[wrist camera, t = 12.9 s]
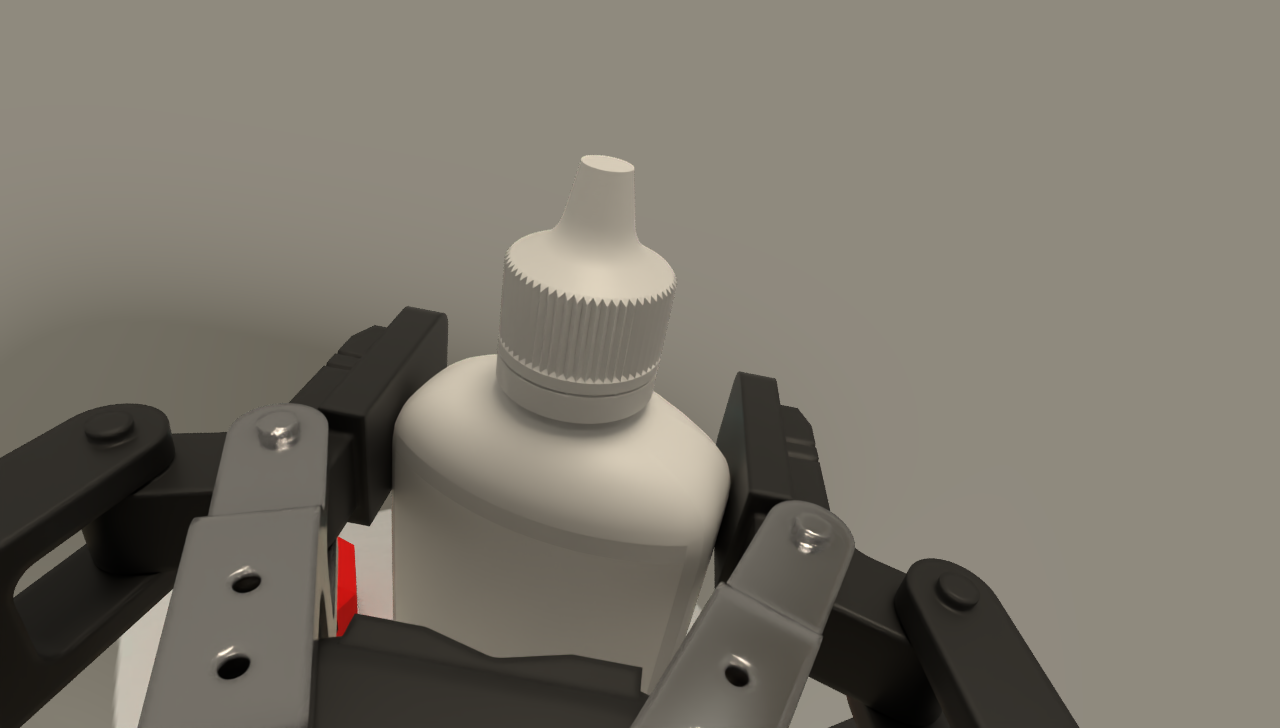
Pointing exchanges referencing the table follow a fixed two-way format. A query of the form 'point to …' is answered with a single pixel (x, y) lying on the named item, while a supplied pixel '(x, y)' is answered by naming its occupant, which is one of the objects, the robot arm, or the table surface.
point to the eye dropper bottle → (561, 459)
